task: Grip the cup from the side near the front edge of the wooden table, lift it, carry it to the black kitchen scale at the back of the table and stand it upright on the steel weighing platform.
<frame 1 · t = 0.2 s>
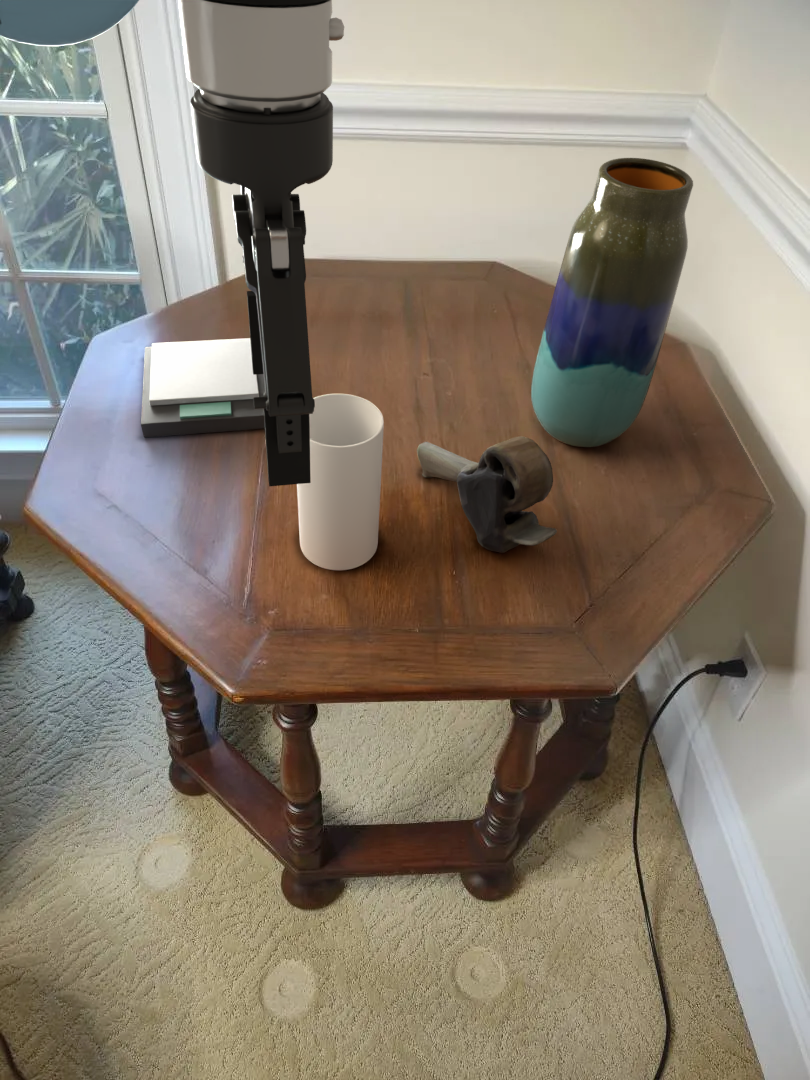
hand: (279, 421, 55), 24 cm above the table, tool pointing down, fingers open, 13 cm apart
scale: (206, 392, 99), on the table
cup: (339, 543, 81), on the table
vase: (576, 428, 98), on the table
grey two-tone handled device: (478, 515, 86), on the table
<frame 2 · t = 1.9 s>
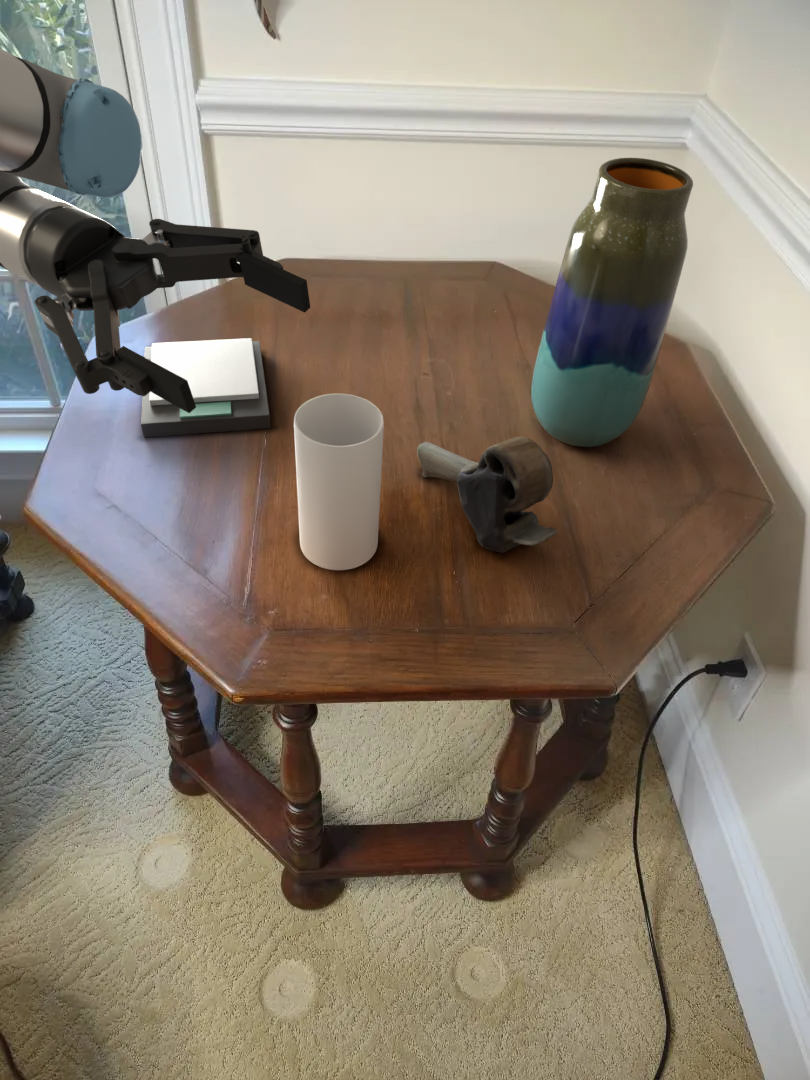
hand: (250, 344, 59), 26 cm above the table, tool horizontal, fingers open, 13 cm apart
nothing on the table moved.
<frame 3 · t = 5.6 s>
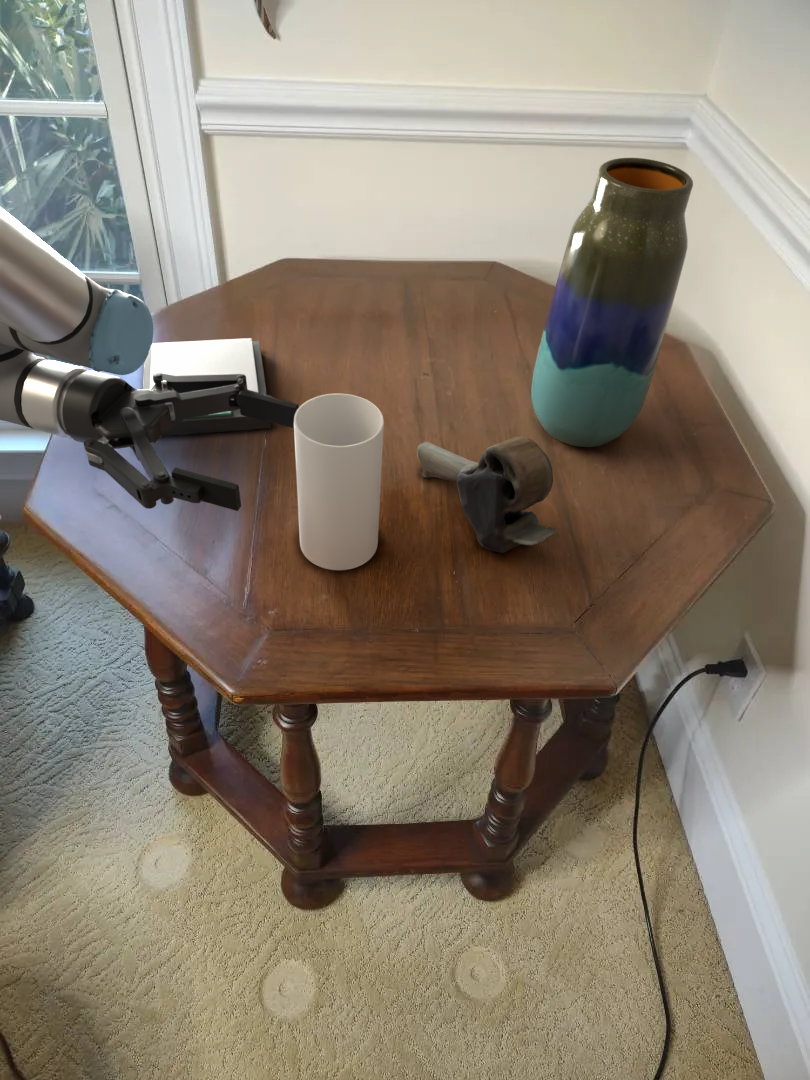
hand: (270, 455, 76), 9 cm above the table, tool horizontal, fingers open, 13 cm apart
nothing on the table moved.
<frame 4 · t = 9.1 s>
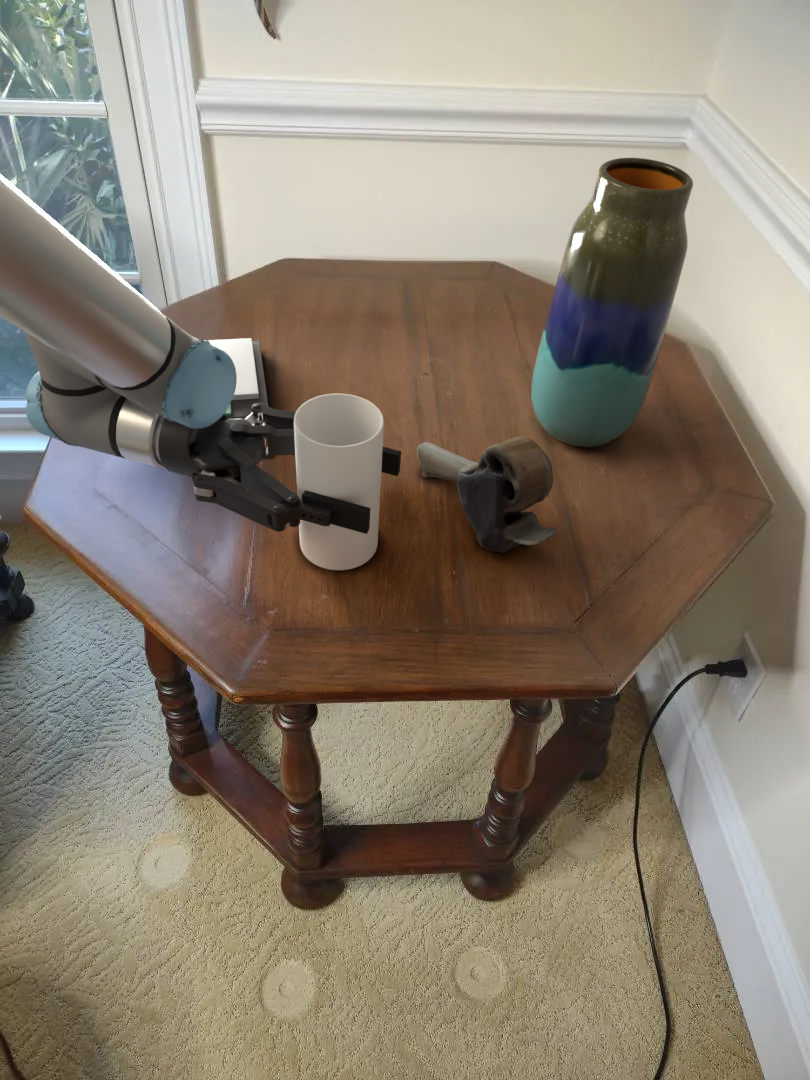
hand: (384, 491, 74), 9 cm above the table, tool horizontal, fingers closed on cup, 8 cm apart
cup: (338, 543, 81), on the table, touching gripper
everything else where it was.
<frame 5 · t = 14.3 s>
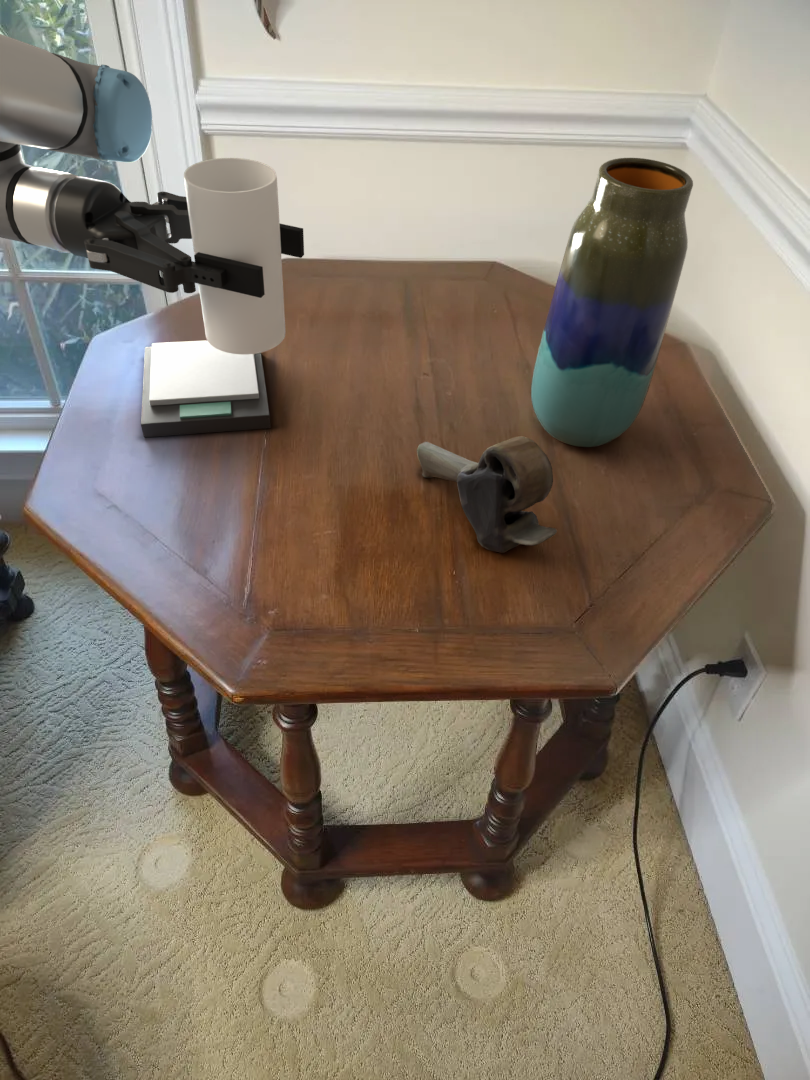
hand: (282, 262, 73), 24 cm above the table, tool horizontal, fingers closed on cup, 8 cm apart
cup: (246, 335, 80), point 15 cm above the table, touching gripper
everything else where it was.
when the fingers open (12 cm above the table, at t = 19.9 s): cup stays where it is, resting on scale.
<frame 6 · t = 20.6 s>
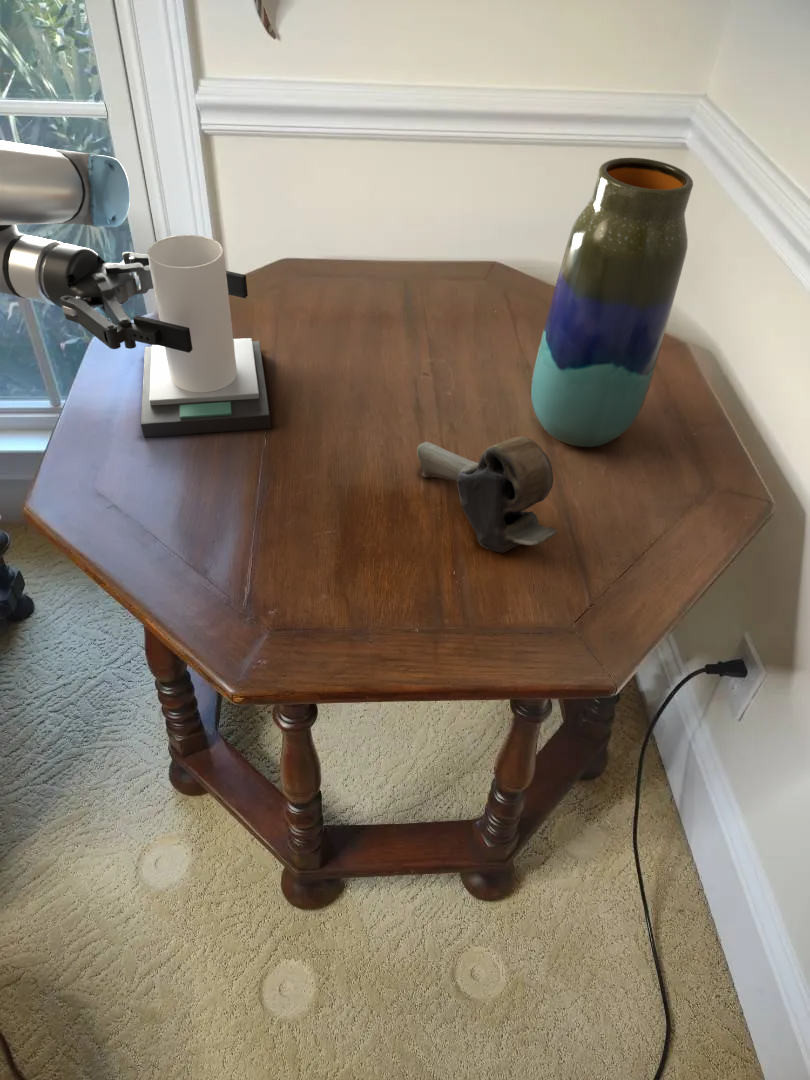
hand: (219, 312, 89), 12 cm above the table, tool horizontal, fingers open, 13 cm apart
cup: (204, 375, 97), point 3 cm above the table, touching scale
everything else where it was.
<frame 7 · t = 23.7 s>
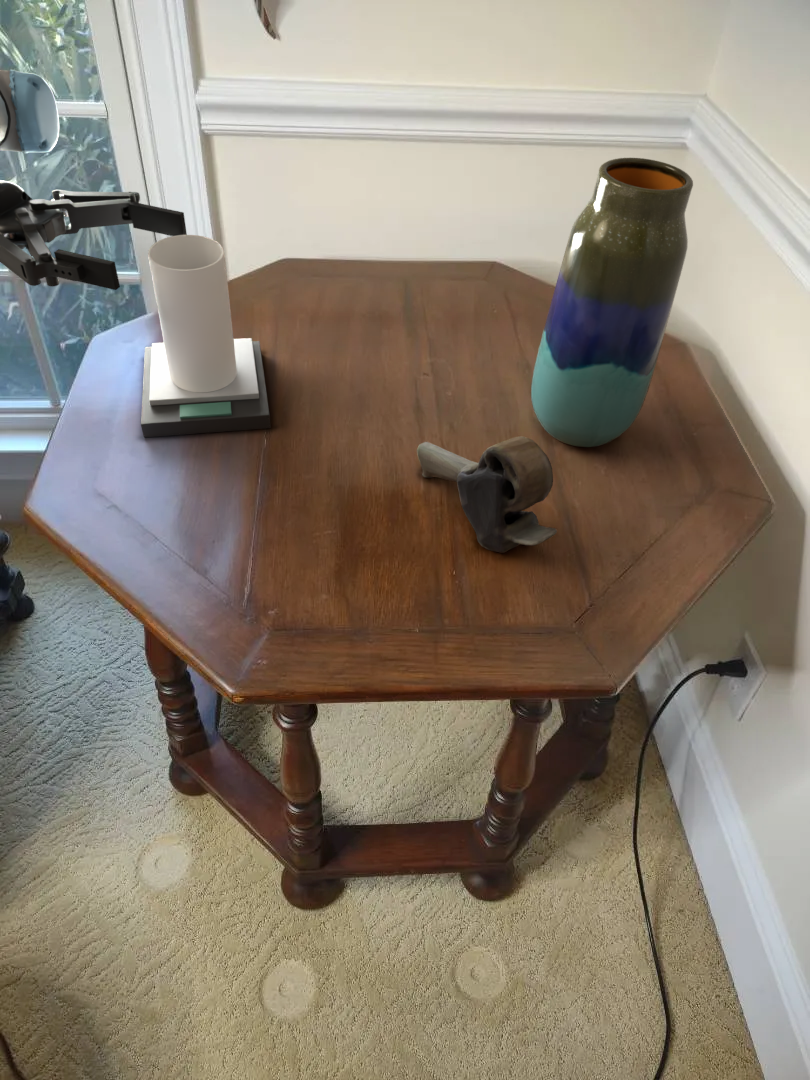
hand: (151, 249, 82), 20 cm above the table, tool horizontal, fingers open, 13 cm apart
nothing on the table moved.
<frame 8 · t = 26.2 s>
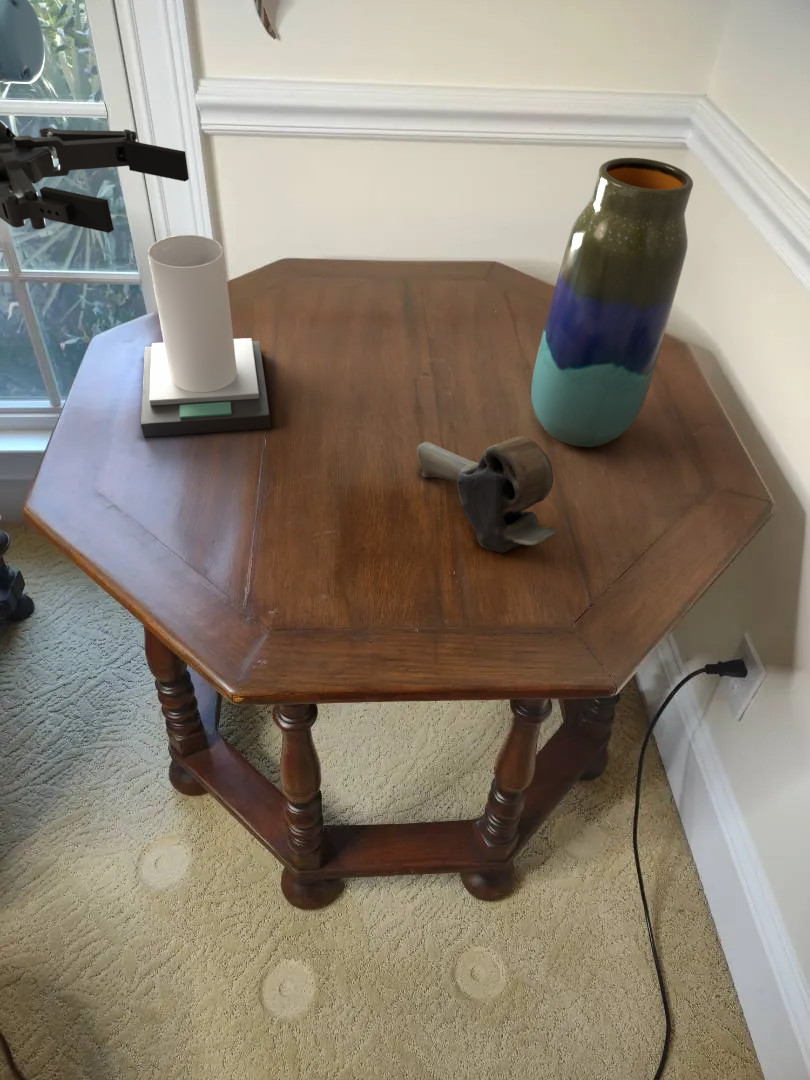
hand: (149, 190, 74), 28 cm above the table, tool horizontal, fingers open, 13 cm apart
nothing on the table moved.
at the end: cup inside the target area on the scale (1.0 cm from its centre), point 2.6 cm above the scale's base; cup tilted 0°; the gripper is holding nothing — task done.
